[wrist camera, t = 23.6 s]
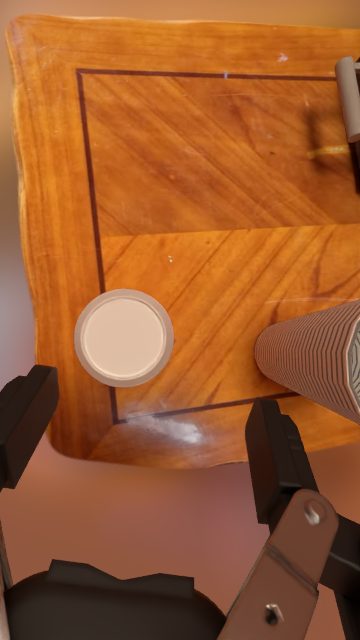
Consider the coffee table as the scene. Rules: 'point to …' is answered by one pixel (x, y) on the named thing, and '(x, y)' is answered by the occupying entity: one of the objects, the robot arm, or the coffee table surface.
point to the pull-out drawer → (350, 98)
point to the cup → (317, 357)
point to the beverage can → (123, 338)
